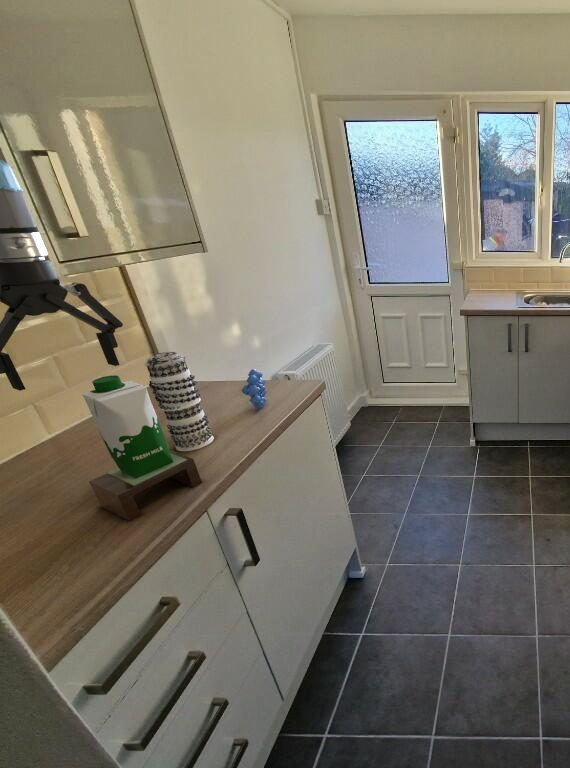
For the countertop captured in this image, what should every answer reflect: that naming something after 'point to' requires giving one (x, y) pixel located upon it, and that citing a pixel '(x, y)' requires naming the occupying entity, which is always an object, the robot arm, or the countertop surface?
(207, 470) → the countertop surface
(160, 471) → the brown wooden stand
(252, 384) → the grapes
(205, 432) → the white patterned cylinder
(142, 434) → the milk carton
